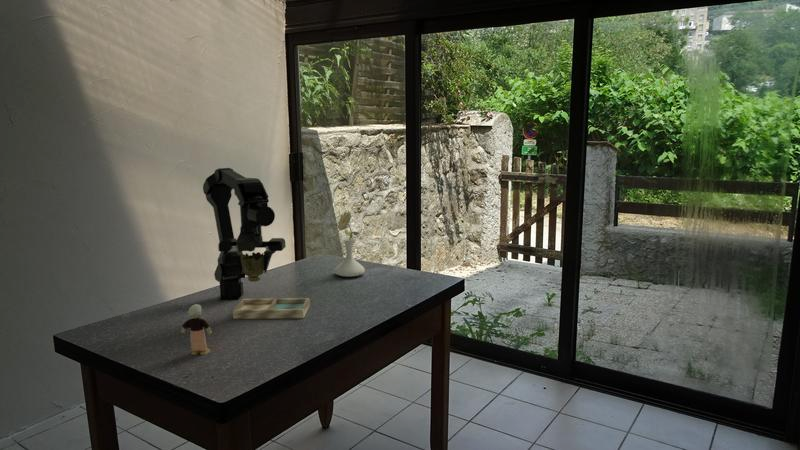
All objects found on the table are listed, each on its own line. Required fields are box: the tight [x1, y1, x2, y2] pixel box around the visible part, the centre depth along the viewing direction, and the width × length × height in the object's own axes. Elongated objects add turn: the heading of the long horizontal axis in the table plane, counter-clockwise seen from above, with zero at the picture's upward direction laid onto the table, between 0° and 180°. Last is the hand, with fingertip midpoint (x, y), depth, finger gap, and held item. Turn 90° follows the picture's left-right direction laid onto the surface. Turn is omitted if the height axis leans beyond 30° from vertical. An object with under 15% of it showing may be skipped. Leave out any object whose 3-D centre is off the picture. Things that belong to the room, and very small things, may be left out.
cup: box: [240, 251, 264, 283], centre depth 169 cm, size 8×7×8 cm
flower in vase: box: [334, 210, 366, 278], centre depth 208 cm, size 13×11×25 cm
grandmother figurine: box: [180, 303, 213, 356], centre depth 141 cm, size 8×4×13 cm, turn 98°
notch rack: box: [232, 297, 311, 320], centre depth 171 cm, size 21×11×2 cm, turn 90°
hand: (253, 272), depth 169 cm, fingers closed on cup, 7 cm apart
